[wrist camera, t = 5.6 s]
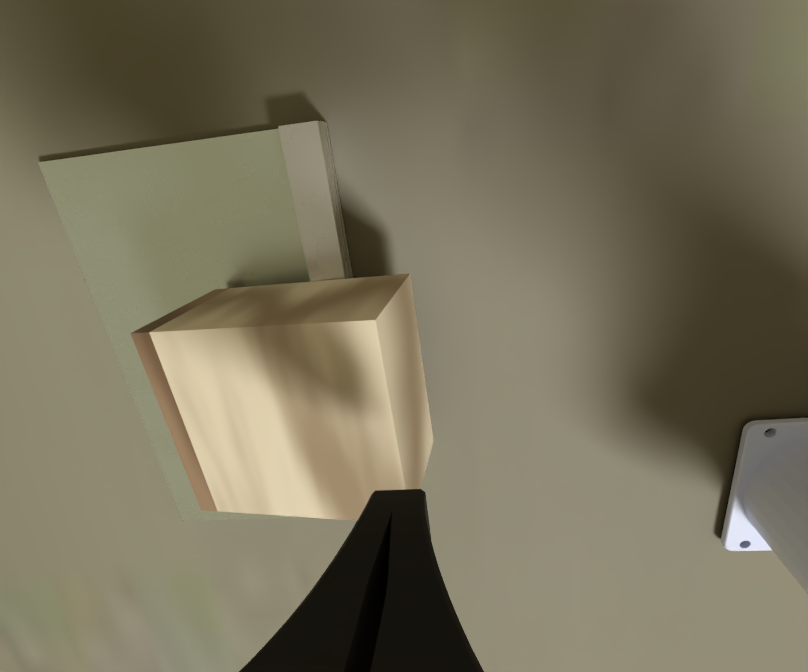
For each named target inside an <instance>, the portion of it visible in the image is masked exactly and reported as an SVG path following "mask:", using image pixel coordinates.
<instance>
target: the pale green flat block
mask: <svg viewBox="0 0 808 672" xmlns="http://www.w3.org/2000/svg"><path fill="white" fill-rule="evenodd" d="M278 128H279V129H272V130H265V131H258V132H251V133H243V134H236V135H229V136H222V137H215V138H208V139H201V140H194V141H187V142H180V143H172V144H165V145H158V146H151V147H144V148H137V149H130V150H123V151H116V152H109V153H101V154H94V155H87V156H80V157H73V158H66V159H59V160H52V161H45V162H38V164H39V167H40V169H41V172H42V174H43V177H44V179H45V181H46V184H47V186H48V189H49V191H50V194H51V196H52V199H53V201H54V204H55V206H56V209H57V211H58V214H59V216H60V219H61V221H62V224H63V226H64V229H65V231H66V234H67V236H68V238H69V241H70V243H71V246H72V248H73V251H74V253H75V256H76V258H77V261H78V263H79V266H80V268H81V271H82V273H83V276H84V278H85V281H86V283H87V286H88V288H89V291H90V293H91V296H92V298H93V300H94V303H95V305H96V308H97V310H98V313H99V315H100V318H101V320H102V323H103V325H104V328H105V330H106V333H107V335H108V338H109V340H110V343H111V345H112V348H113V350H114V353H115V355H116V357H117V360H118V362H119V365H120V367H121V370H122V372H123V375H124V377H125V380H126V382H127V385H128V387H129V390H130V392H131V395H132V397H133V400H134V402H135V405H136V407H137V410H138V412H139V414H140V417H141V419H142V422H143V424H144V427H145V429H146V432H147V434H148V437H149V439H150V442H151V444H152V447H153V449H154V452H155V454H156V457H157V459H158V462H159V464H160V467H161V469H162V471H163V474H164V476H165V479H166V481H167V484H168V486H169V489H170V491H171V494H172V496H173V499H174V501H175V504H176V506H177V509H178V511H179V514H180V516H181V519H182V521H191V520H224V519H256V518H289V517H295V516H280V515H265V514H250V513H234V512H219V511H204V510H201V509H200V506H199V504H198V501H197V499H196V496H195V494H194V491H193V489H192V486H191V484H190V481H189V479H188V476H187V474H186V471H185V469H184V466H183V464H182V461H181V459H180V456H179V454H178V451H177V449H176V446H175V444H174V441H173V439H172V436H171V434H170V431H169V429H168V426H167V424H166V421H165V419H164V416H163V414H162V411H161V409H160V406H159V404H158V401H157V399H156V396H155V394H154V391H153V389H152V386H151V384H150V381H149V379H148V376H147V374H146V371H145V369H144V366H143V364H142V361H141V359H140V356H139V354H138V351H137V349H136V346H135V344H134V341H133V339H132V336H131V334H130V333H132V332H134V331H136V330H138V329H140V328H141V327H143V326H145V325H147V324H149V323H151V322H153V321H155V320H157V319H159V318H161V317H163V316H165V315H167V314H168V313H170V312H172V311H174V310H176V309H178V308H180V307H182V306H184V305H186V304H188V303H190V302H192V301H193V300H195V299H197V298H199V297H201V296H203V295H205V294H207V293H209V292H211V291H213V290H215V289H225V288H238V287H250V286H262V285H275V284H287V283H300V282H312V281H324V280H337V279H349V278H353V274H352V268H351V262H350V256H349V250H348V244H347V238H346V232H345V226H344V221H343V215H342V209H341V203H340V197H339V191H338V185H337V179H336V173H335V167H334V161H333V155H332V149H331V143H330V137H329V131H328V126H327V122H322V121H311V122H304V123H297V124H290V125H283V126H278Z"/></svg>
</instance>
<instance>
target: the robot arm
mask: <svg viewBox="0 0 808 672" xmlns="http://www.w3.org/2000/svg"><path fill="white" fill-rule="evenodd" d="M770 428H771V429H770ZM768 429H770V430H769V431H768V432H765V431H766V430H768ZM721 543H722V544H723V546H724V547H725V548H726V549H727V550H730V551H759V550H773V552H774V553H775V554H776V555H777V557H778V558H779V559H780V560H781V562H782V563H783V564H784V565H785V566H786V568H787V569H788V570H789V571H790V573H791V574H792V575H793V576H794V578H795V579H796V580H797V581H798V583H799V584H800V585H801V586H802V588H803V589H804V590H805V591H806V593H807V594H808V418H792V419H773V420H755V421H751V422H749V423H747V424H746V425H745V426H744V428H743V431H742V436H741V441H740V446H739V451H738V456H737V461H736V466H735V471H734V476H733V481H732V486H731V491H730V496H729V501H728V506H727V511H726V517H725V522H724V527H723V532H722V537H721ZM239 672H484V671H483V669H482V667H481V665H480V663H479V661H478V660H477V658H476V656H475V654H474V652H473V650H472V648H471V646H470V644H469V641H468V639H467V637H466V635H465V633H464V630H463V628H462V626H461V624H460V622H459V619H458V617H457V615H456V612H455V610H454V607H453V605H452V602H451V600H450V597H449V595H448V592H447V590H446V587H445V584H444V581H443V578H442V576H441V573H440V570H439V567H438V564H437V561H436V557H435V554H434V550H433V546H432V543H431V535H430V527H429V519H428V511H427V503H426V495H425V492H424V491H423V490H421V489H405V490H376V491H374V492H373V493H372V494H371V496H370V498H369V500H368V502H367V504H366V506H365V508H364V510H363V512H362V513H361V515H360V517H359V519H358V520H357V522H356V524H355V526H354V527H353V529H352V531H351V532H350V534H349V536H348V537H347V539H346V540H345V542H344V544H343V545H342V547H341V548H340V550H339V552H338V553H337V555H336V556H335V558H334V559H333V561H332V562H331V564H330V565H329V566H328V568H327V569H326V571H325V572H324V573H323V575H322V576H321V578H320V579H319V581H318V582H317V583H316V585H315V586H314V587H313V589H312V590H311V591H310V593H309V594H308V595H307V597H306V598H305V599H304V601H303V602H302V603H301V604H300V606H299V607H298V608H297V609H296V610H295V612H294V613H293V614H292V615H291V616H290V618H289V619H288V620H287V621H286V622H285V624H284V625H283V626H282V627H281V628H280V629H279V630H278V631H277V632H276V634H275V635H274V636H273V637H272V638H271V639H270V640H269V641H268V643H267V644H266V645H265V646H264V647H263V648H262V649H261V650H260V651H259V652H258V653H257V654H256V655H255V656H254V657H253V658H252V659H251V661H250V662H249V663H248V664H247V665H245V666H244V667H243V668H242V669H241V670H240V671H239Z"/></svg>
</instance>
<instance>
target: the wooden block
mask: <svg viewBox="0 0 808 672" xmlns="http://www.w3.org/2000/svg"><path fill="white" fill-rule="evenodd" d="M130 334H131V336H132V339H133V341H134V344H135V346H136V349H137V351H138V354H139V356H140V359H141V361H142V364H143V366H144V369H145V371H146V374H147V376H148V379H149V381H150V384H151V386H152V389H153V391H154V394H155V396H156V399H157V401H158V404H159V406H160V409H161V411H162V414H163V416H164V419H165V421H166V424H167V426H168V429H169V431H170V434H171V436H172V439H173V441H174V444H175V446H176V449H177V451H178V454H179V456H180V459H181V461H182V464H183V466H184V469H185V471H186V474H187V476H188V479H189V481H190V484H191V486H192V489H193V491H194V494H195V496H196V499H197V501H198V504H199V506H200V509H201V510H204V511H219V512H234V513H250V514H265V515H280V516H295V517H311V518H326V519H341V520H356V521H357V520H358V519H359V517H360V515H361V513H362V512H363V510H364V508H365V506H366V504H367V502H368V500H369V498H370V496H371V494H372V493H373V492H374V491H376V490H405V489H421V486H422V482H423V479H424V475H425V471H426V467H427V464H428V460H429V456H430V452H431V448H432V445H433V434H432V427H431V420H430V413H429V405H428V398H427V391H426V384H425V377H424V369H423V362H422V355H421V348H420V341H419V334H418V326H417V319H416V312H415V305H414V298H413V291H412V283H411V276H410V274H399V275H387V276H374V277H362V278H349V279H337V280H324V281H312V282H300V283H287V284H275V285H262V286H250V287H238V288H225V289H215V290H213V291H211V292H209V293H207V294H205V295H203V296H201V297H199V298H197V299H195V300H193V301H192V302H190V303H188V304H186V305H184V306H182V307H180V308H178V309H176V310H174V311H172V312H170V313H168V314H167V315H165V316H163V317H161V318H159V319H157V320H155V321H153V322H151V323H149V324H147V325H145V326H143V327H141V328H140V329H138V330H136V331H134V332H132V333H130Z"/></svg>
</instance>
